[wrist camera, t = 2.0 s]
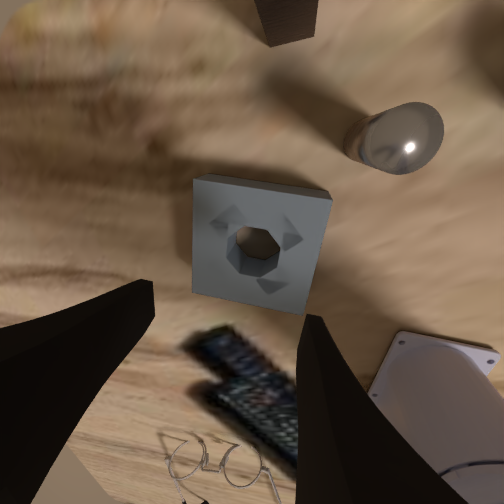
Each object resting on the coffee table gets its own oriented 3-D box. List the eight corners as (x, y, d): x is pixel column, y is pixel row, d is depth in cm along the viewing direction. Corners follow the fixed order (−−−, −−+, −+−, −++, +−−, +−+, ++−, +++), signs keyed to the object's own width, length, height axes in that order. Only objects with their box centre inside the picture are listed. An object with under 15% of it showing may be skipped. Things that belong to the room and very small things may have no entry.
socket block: (302, 294, 21) (302, 315, 19) (205, 274, 22) (192, 292, 20) (328, 191, 18) (333, 200, 15) (208, 173, 19) (193, 179, 16)
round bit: (378, 164, 16) (426, 178, 10) (338, 159, 17) (361, 170, 10) (392, 120, 15) (456, 106, 9) (349, 116, 15) (382, 98, 9)
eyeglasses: (275, 440, 32) (271, 489, 27) (294, 513, 39) (293, 561, 34) (167, 431, 35) (147, 472, 31) (201, 498, 42) (190, 540, 38)
